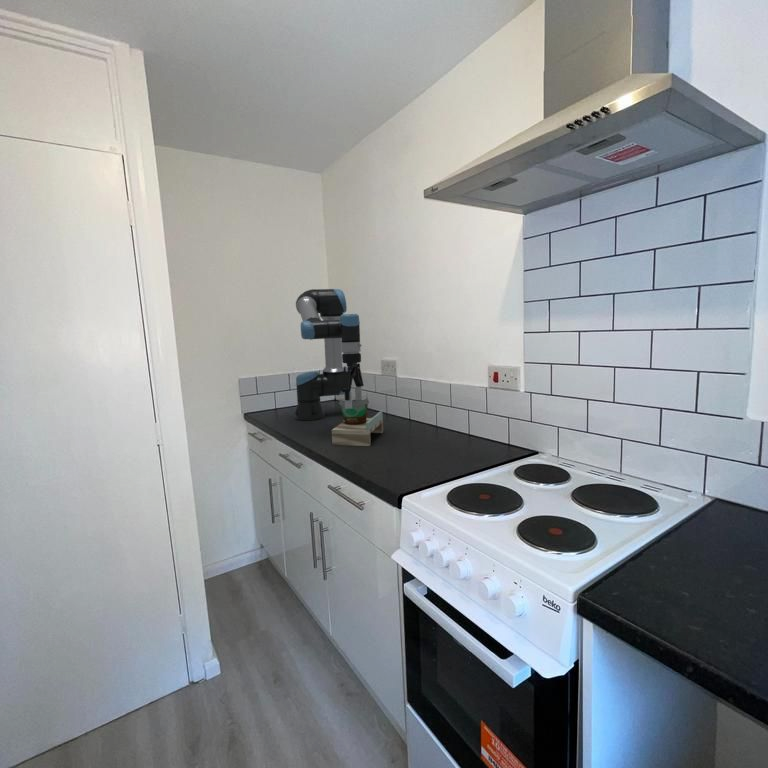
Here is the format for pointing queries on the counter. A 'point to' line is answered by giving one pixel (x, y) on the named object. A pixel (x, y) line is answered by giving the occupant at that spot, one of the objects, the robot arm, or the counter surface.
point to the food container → (355, 412)
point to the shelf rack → (357, 432)
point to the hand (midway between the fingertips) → (353, 405)
